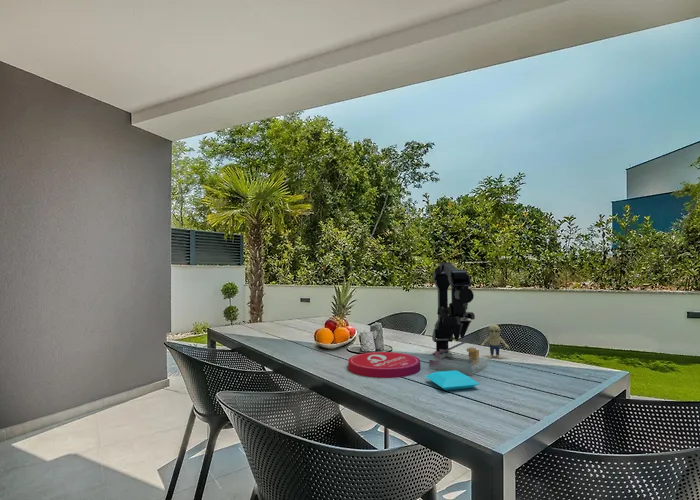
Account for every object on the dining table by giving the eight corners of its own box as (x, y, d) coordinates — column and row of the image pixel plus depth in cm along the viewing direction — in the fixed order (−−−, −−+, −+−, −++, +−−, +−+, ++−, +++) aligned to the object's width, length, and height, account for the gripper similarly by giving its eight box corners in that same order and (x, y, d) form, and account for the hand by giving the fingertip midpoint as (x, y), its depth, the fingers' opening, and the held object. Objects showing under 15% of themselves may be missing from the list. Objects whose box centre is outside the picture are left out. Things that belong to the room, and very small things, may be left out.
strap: (440, 354, 172) (439, 351, 173) (466, 343, 165) (465, 340, 166) (437, 355, 170) (436, 353, 170) (463, 344, 163) (462, 341, 163)
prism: (442, 395, 137) (442, 381, 137) (425, 382, 150) (424, 370, 150) (480, 390, 140) (479, 377, 140) (460, 378, 154) (459, 366, 154)
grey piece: (446, 360, 181) (446, 345, 181) (487, 366, 169) (486, 350, 170) (429, 368, 168) (429, 352, 168) (471, 375, 157) (471, 358, 157)
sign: (434, 367, 171) (378, 356, 192) (434, 358, 171) (378, 349, 192) (390, 383, 149) (333, 369, 170) (390, 373, 149) (333, 360, 170)
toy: (479, 357, 185) (479, 324, 185) (480, 355, 190) (480, 323, 191) (509, 360, 180) (508, 326, 181) (509, 357, 186) (509, 324, 186)
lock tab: (471, 356, 173) (471, 346, 173) (479, 357, 171) (478, 347, 171) (466, 358, 168) (465, 348, 168) (473, 360, 166) (473, 349, 166)
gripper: (450, 297, 178) (450, 333, 178) (430, 301, 164) (430, 340, 163) (474, 299, 171) (475, 336, 171) (456, 303, 157) (456, 343, 156)
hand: (459, 339), depth 166 cm, fingers open, 5 cm apart
